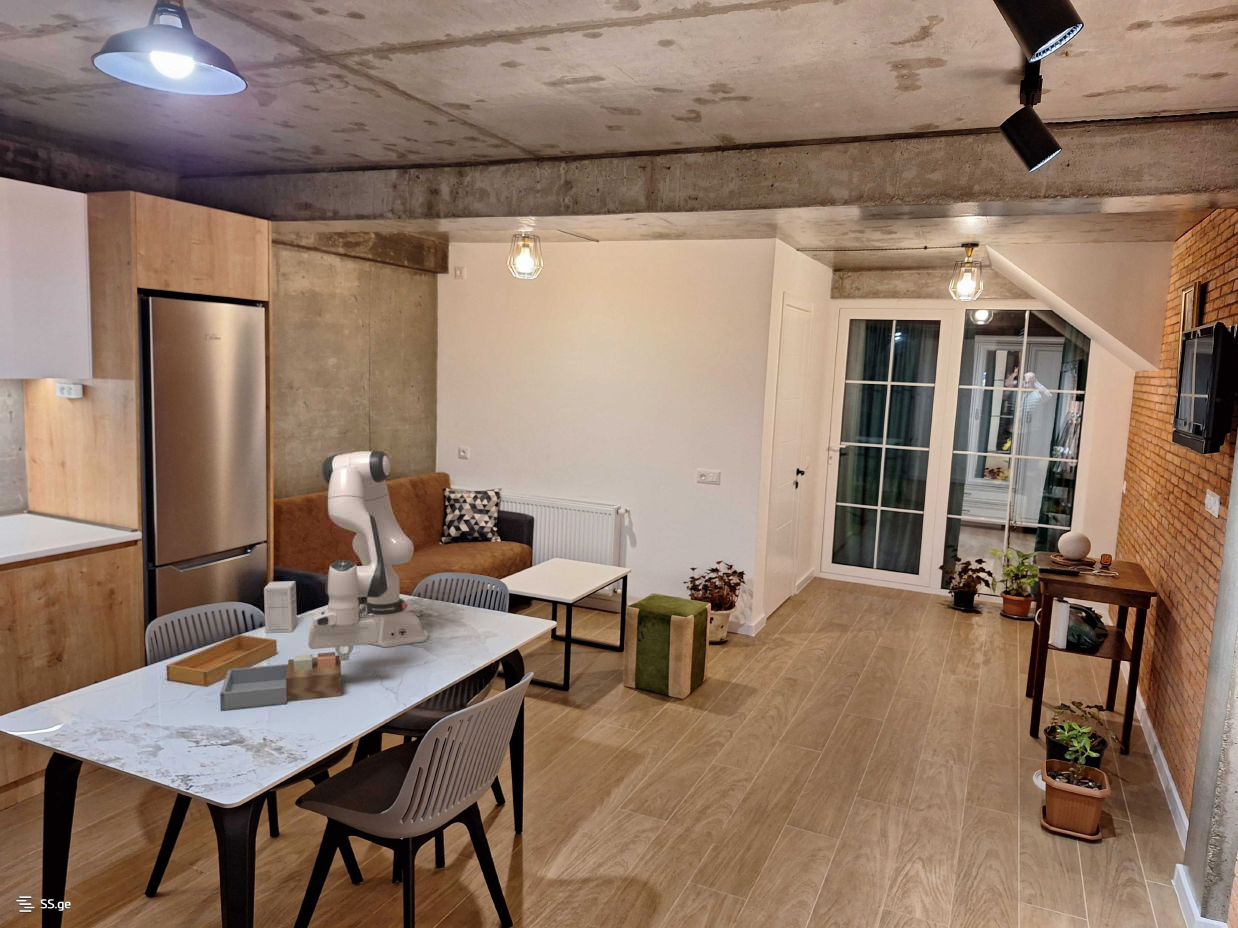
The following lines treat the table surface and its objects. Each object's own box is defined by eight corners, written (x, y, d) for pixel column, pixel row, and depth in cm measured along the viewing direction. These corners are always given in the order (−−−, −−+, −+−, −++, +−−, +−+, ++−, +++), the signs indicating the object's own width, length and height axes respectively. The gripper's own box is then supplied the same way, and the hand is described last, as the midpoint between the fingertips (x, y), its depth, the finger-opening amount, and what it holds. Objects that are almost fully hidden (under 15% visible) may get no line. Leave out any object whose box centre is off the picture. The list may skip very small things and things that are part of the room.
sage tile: (312, 663, 251) (312, 653, 250) (312, 669, 246) (312, 659, 246) (294, 665, 249) (294, 655, 249) (294, 670, 244) (294, 660, 244)
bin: (289, 679, 256) (289, 663, 256) (286, 704, 237) (285, 687, 237) (228, 685, 251) (228, 669, 250) (220, 710, 232) (220, 693, 231)
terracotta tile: (335, 661, 253) (335, 651, 253) (335, 667, 248) (335, 657, 248) (317, 663, 251) (317, 653, 251) (317, 668, 247) (317, 658, 246)
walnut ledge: (340, 676, 259) (340, 655, 258) (341, 695, 244) (341, 672, 243) (289, 681, 254) (288, 659, 254) (286, 701, 239) (286, 678, 239)
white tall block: (297, 624, 311) (296, 580, 309) (292, 632, 302) (291, 586, 300) (270, 625, 309) (269, 581, 307) (264, 633, 300) (263, 587, 298)
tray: (207, 688, 249) (206, 670, 248) (166, 681, 253) (166, 663, 253) (277, 655, 278) (276, 639, 278) (240, 650, 283) (239, 634, 282)
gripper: (379, 609, 256) (379, 653, 258) (308, 614, 249) (309, 659, 251) (380, 615, 250) (380, 659, 252) (307, 620, 243) (308, 666, 245)
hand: (344, 659), depth 251 cm, fingers closed
